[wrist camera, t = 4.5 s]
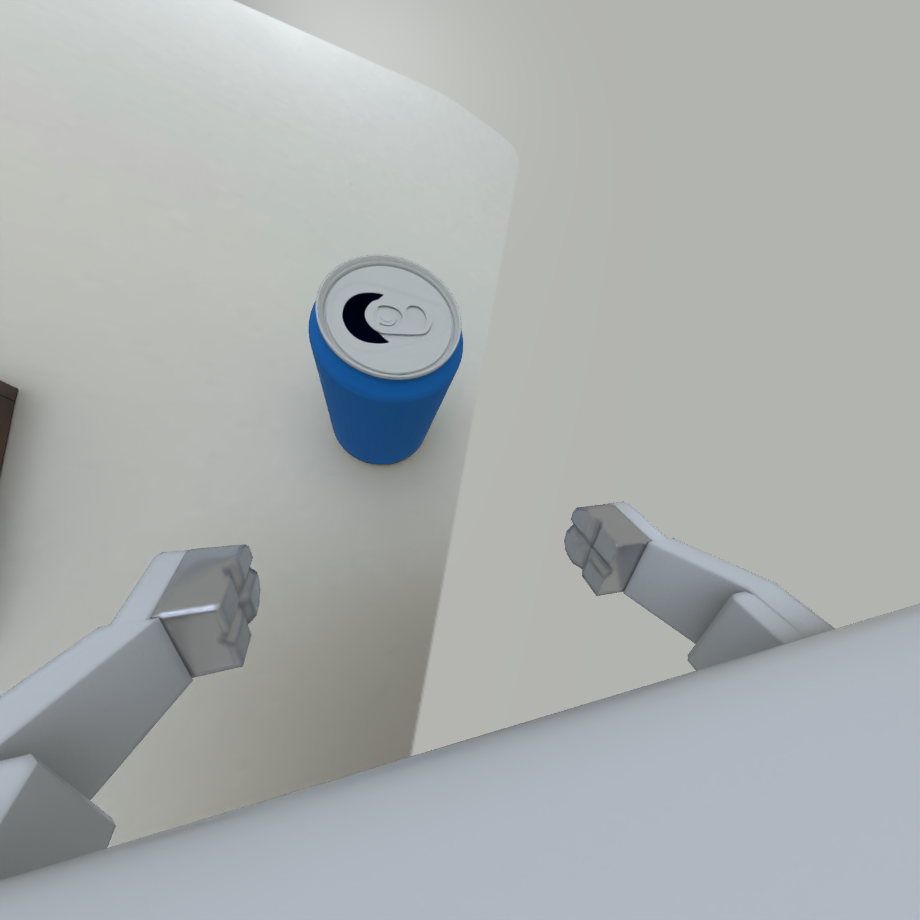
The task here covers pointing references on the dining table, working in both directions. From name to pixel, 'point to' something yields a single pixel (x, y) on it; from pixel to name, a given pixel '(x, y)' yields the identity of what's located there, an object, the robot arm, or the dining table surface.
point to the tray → (5, 413)
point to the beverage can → (384, 353)
